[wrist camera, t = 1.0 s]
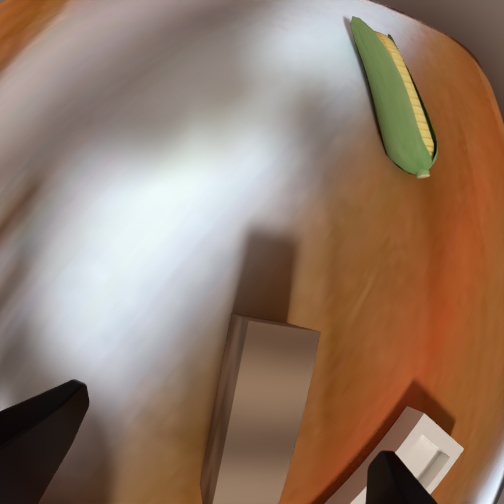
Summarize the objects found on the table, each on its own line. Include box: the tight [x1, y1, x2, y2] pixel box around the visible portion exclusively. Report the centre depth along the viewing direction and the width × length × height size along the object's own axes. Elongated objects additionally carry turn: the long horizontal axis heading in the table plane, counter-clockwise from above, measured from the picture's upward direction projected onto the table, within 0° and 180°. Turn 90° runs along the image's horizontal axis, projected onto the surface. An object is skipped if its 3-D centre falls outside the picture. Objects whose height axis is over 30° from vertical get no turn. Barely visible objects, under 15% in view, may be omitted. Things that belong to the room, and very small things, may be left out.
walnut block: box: [200, 314, 320, 504], centre depth 18 cm, size 14×4×6 cm, turn 170°
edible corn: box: [351, 16, 438, 179], centre depth 25 cm, size 5×20×5 cm, turn 6°
